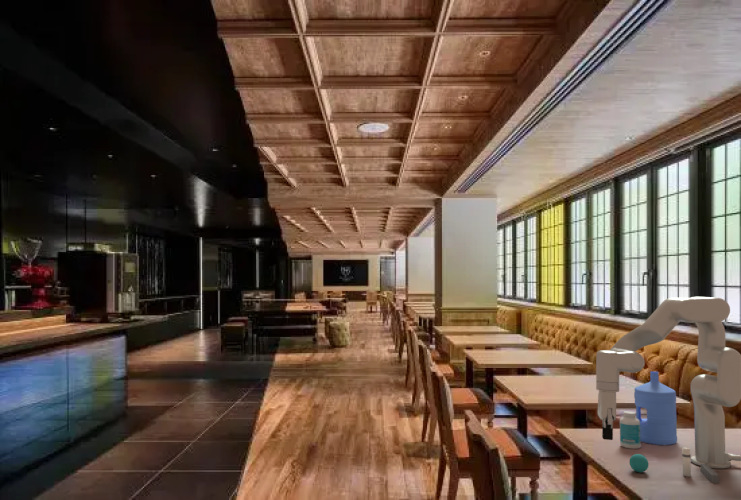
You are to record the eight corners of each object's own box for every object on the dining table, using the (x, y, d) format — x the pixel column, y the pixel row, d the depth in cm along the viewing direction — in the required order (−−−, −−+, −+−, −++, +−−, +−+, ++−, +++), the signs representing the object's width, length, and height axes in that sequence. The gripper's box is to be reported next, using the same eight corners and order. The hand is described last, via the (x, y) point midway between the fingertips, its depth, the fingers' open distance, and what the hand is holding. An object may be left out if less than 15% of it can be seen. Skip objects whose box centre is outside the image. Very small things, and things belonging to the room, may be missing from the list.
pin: (689, 474, 200) (689, 447, 200) (691, 476, 198) (691, 449, 198) (681, 473, 201) (681, 447, 201) (683, 476, 198) (683, 449, 199)
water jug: (678, 438, 245) (676, 371, 246) (676, 448, 231) (674, 376, 232) (637, 433, 253) (636, 368, 254) (632, 442, 239) (631, 373, 240)
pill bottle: (643, 449, 229) (643, 414, 230) (624, 449, 229) (624, 414, 230) (635, 444, 237) (634, 410, 237) (617, 444, 237) (616, 410, 237)
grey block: (707, 471, 203) (706, 464, 203) (719, 483, 191) (718, 475, 192) (700, 471, 204) (700, 463, 204) (712, 482, 192) (712, 475, 192)
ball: (646, 469, 205) (646, 452, 205) (650, 475, 199) (650, 457, 199) (628, 468, 206) (627, 451, 207) (631, 474, 200) (631, 456, 201)
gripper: (593, 381, 214) (593, 432, 213) (599, 389, 200) (599, 443, 199) (615, 383, 213) (615, 434, 212) (623, 390, 198) (622, 445, 197)
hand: (607, 438), depth 205 cm, fingers closed
